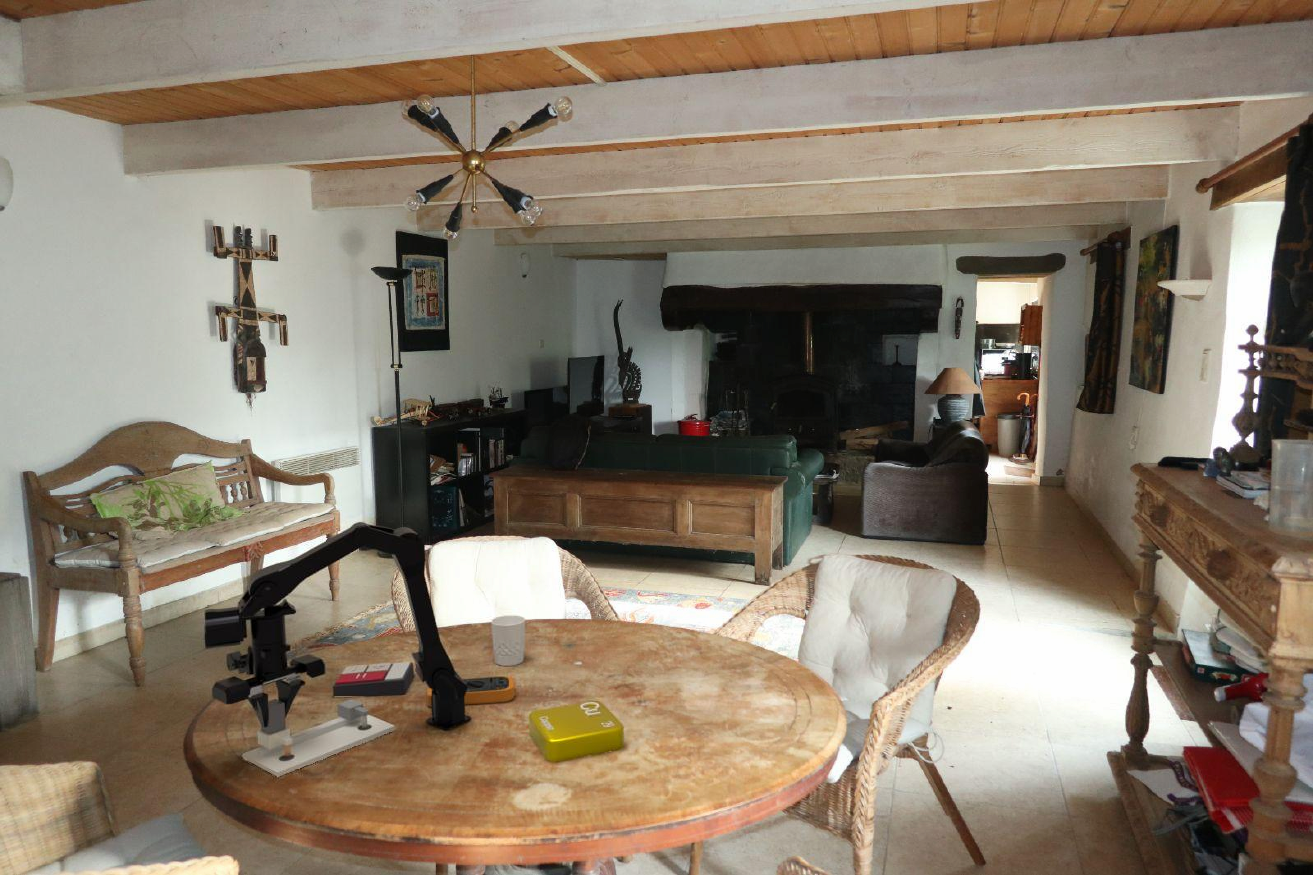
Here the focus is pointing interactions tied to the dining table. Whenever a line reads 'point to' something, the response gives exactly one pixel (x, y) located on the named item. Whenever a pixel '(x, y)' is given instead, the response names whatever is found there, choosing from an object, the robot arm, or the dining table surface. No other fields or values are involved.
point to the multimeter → (486, 690)
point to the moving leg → (275, 728)
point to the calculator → (375, 680)
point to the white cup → (508, 639)
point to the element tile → (575, 731)
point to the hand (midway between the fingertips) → (273, 723)
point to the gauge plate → (322, 740)
